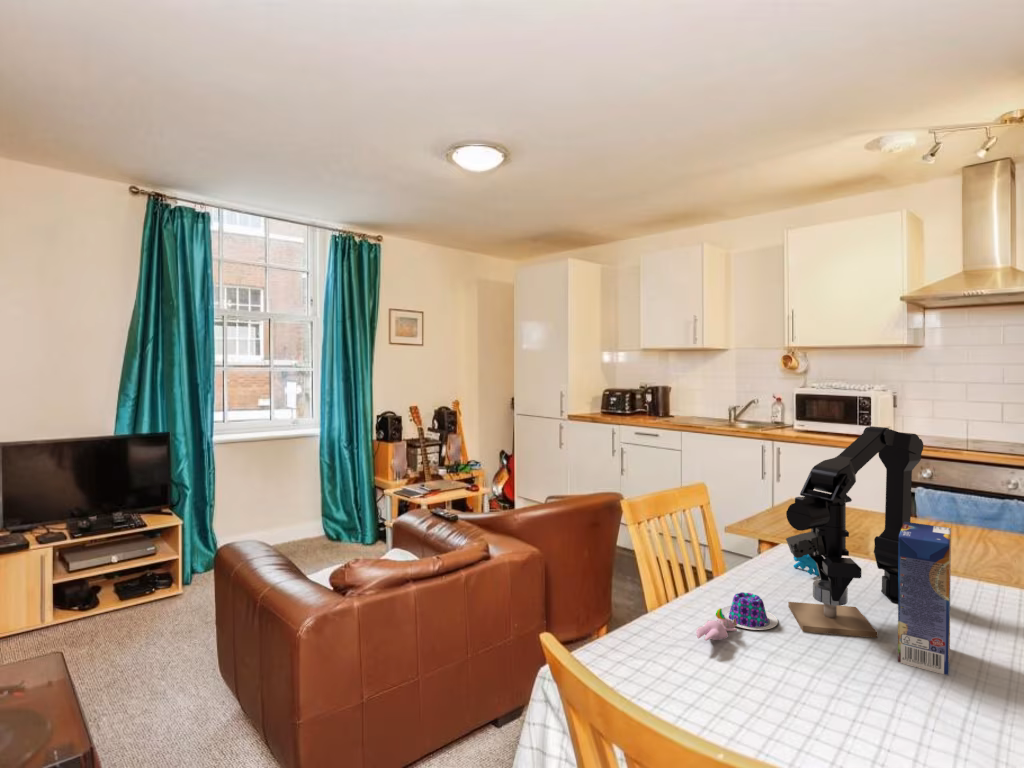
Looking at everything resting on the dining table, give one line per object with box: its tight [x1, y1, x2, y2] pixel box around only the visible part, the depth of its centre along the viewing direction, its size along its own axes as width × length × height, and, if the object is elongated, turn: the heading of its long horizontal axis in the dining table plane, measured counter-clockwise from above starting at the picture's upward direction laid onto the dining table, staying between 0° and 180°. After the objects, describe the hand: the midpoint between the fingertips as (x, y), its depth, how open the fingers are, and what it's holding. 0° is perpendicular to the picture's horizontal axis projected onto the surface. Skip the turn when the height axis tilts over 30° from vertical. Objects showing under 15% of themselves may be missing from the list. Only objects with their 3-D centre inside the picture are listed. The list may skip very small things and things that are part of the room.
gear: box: [792, 554, 820, 577], centre depth 151 cm, size 11×6×10 cm
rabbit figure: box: [695, 607, 738, 641], centre depth 114 cm, size 6×6×15 cm
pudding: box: [721, 592, 779, 631], centre depth 123 cm, size 12×12×5 cm
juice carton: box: [897, 521, 952, 676], centre depth 106 cm, size 12×8×24 cm, turn 141°
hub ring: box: [812, 579, 849, 606], centre depth 121 cm, size 6×6×3 cm
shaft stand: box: [787, 601, 878, 639], centre depth 121 cm, size 14×12×6 cm
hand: (830, 594), depth 121 cm, fingers closed on hub ring, 6 cm apart
